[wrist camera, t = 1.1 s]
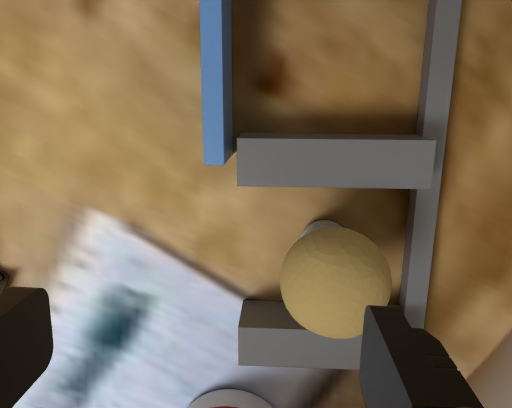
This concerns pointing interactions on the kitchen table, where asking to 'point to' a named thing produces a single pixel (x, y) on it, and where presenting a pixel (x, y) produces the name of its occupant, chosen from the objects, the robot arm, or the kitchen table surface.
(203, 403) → the fruit juice
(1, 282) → the portable electronic device stand
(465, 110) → the kitchen table surface
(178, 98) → the kitchen table surface
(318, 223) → the light bulb
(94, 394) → the kitchen table surface
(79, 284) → the kitchen table surface
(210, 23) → the gray e-shaped frame
